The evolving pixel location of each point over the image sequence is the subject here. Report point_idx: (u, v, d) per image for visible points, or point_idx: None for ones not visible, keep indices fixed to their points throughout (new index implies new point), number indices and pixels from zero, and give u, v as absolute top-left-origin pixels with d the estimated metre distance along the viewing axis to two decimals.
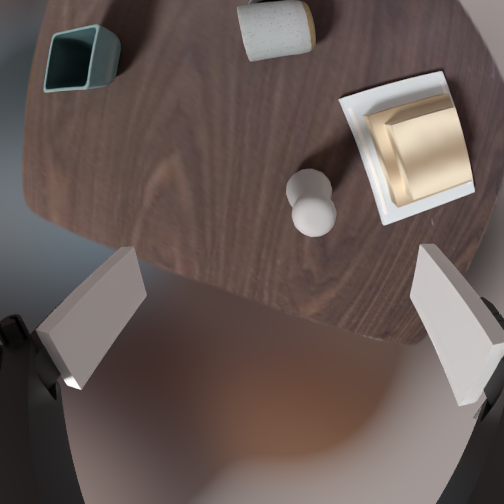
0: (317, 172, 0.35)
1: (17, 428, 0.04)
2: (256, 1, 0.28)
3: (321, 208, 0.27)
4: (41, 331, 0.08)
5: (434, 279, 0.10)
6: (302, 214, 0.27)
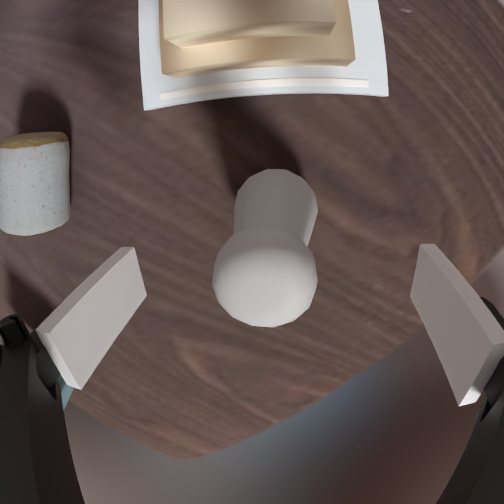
0: (243, 187, 0.20)
1: (17, 428, 0.04)
2: None
3: (242, 274, 0.11)
4: (41, 331, 0.08)
5: (434, 279, 0.10)
6: (244, 313, 0.12)
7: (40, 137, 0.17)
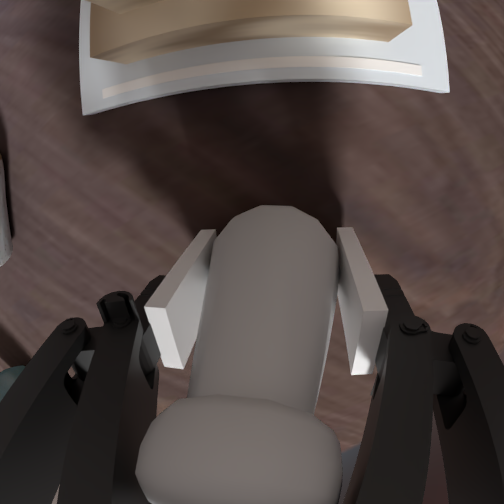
0: (221, 237, 0.12)
1: (102, 424, 0.05)
2: None
3: None
4: (153, 307, 0.09)
5: (341, 258, 0.12)
6: None
7: None
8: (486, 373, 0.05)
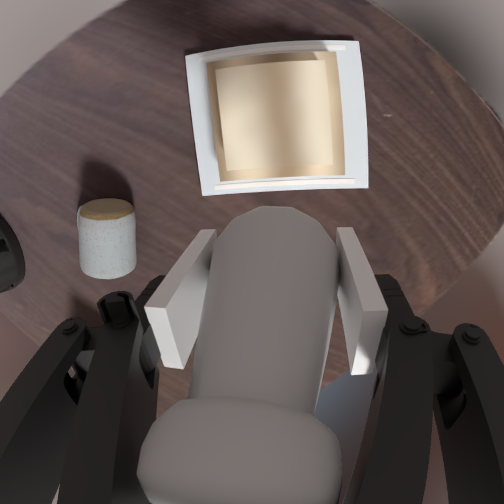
0: (221, 239, 0.12)
1: (103, 424, 0.05)
2: None
3: None
4: (153, 307, 0.09)
5: (341, 258, 0.12)
6: None
7: (117, 211, 0.30)
8: (486, 373, 0.05)
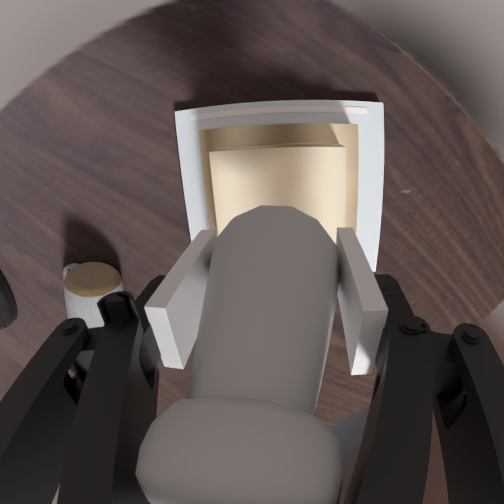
0: (221, 238, 0.12)
1: (103, 424, 0.05)
2: None
3: None
4: (153, 307, 0.09)
5: (341, 258, 0.12)
6: None
7: (103, 287, 0.28)
8: (486, 373, 0.05)
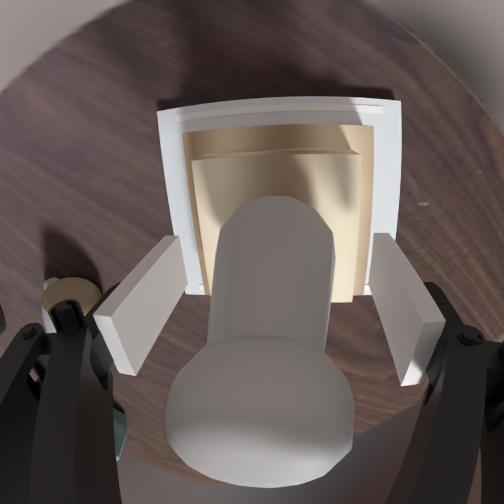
0: (228, 224, 0.13)
1: (61, 423, 0.05)
2: None
3: (214, 448, 0.05)
4: (100, 315, 0.08)
5: (383, 265, 0.11)
6: (224, 480, 0.05)
7: None
8: None
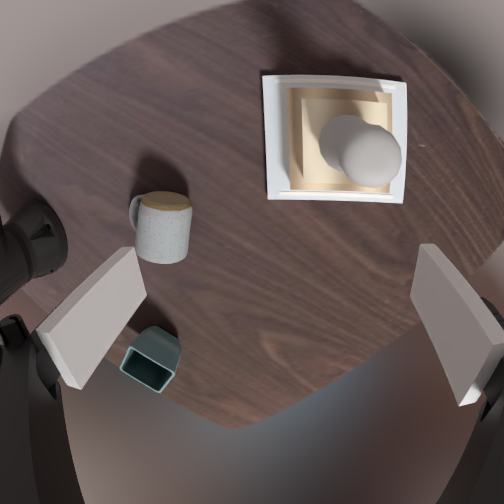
0: (328, 124, 0.25)
1: (17, 428, 0.04)
2: (137, 220, 0.43)
3: (364, 143, 0.16)
4: (41, 331, 0.08)
5: (434, 279, 0.10)
6: (362, 172, 0.17)
7: (180, 204, 0.36)
8: None
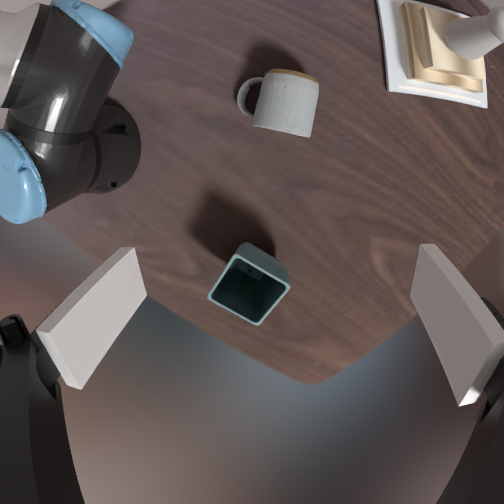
0: (453, 21, 0.20)
1: (17, 428, 0.04)
2: (244, 107, 0.38)
3: None
4: (41, 331, 0.08)
5: (434, 279, 0.10)
6: None
7: (313, 77, 0.31)
8: None
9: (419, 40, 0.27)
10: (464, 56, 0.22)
